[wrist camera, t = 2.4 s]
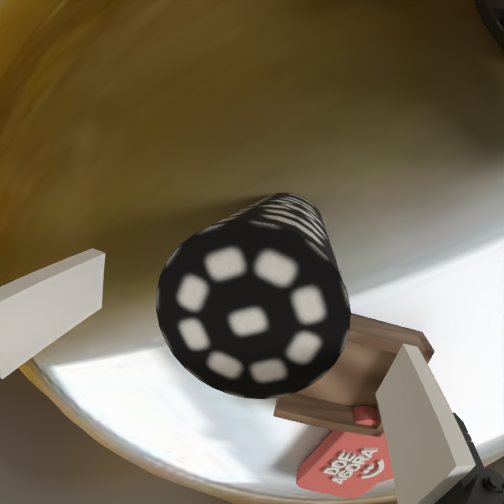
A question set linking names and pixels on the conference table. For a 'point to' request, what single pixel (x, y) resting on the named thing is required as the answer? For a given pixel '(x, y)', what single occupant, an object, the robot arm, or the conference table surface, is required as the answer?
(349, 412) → the walnut tray
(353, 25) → the conference table surface
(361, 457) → the plaque
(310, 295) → the spotted tube
